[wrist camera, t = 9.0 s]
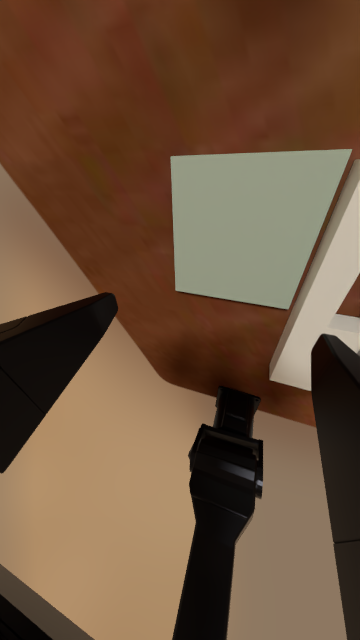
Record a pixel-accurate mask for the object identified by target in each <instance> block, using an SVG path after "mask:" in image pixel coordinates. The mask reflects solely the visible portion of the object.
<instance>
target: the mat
mask: <svg viewBox="0 0 360 640" xmlns="http://www.w3.org/2000/svg"><path fill="white" fill-rule="evenodd" d="M351 151H352V149H342V150H317V151H292V152H267V153H242V154H217V155H192V156H171V177H172V204H173V231H174V257H175V284H176V291H181V292H187V293H193V294H199V295H205V296H211V297H217V298H223V299H229V300H235V301H241V302H247V303H253V304H259V305H265V306H271V307H277V308H283V309H289V307H290V304H291V302H292V299H293V297H294V294H295V292H296V289H297V287H298V284H299V282H300V279H301V277H302V274H303V272H304V269H305V267H306V264H307V262H308V259H309V257H310V254H311V252H312V249H313V247H314V244H315V242H316V239H317V237H318V234H319V232H320V229H321V227H322V224H323V222H324V219H325V217H326V214H327V212H328V209H329V207H330V204H331V201H332V199H333V196H334V194H335V191H336V189H337V186H338V184H339V181H340V179H341V176H342V174H343V171H344V169H345V166H346V164H347V161H348V159H349V156H350V154H351Z"/></svg>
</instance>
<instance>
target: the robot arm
mask: <svg viewBox="0 0 360 640" xmlns="http://www.w3.org/2000/svg"><path fill="white" fill-rule="evenodd" d="M117 311H118V306H117V302H116V298H115V295H114V294H112V293H108V292H105V293H101V294H98V295H95V296H92V297H89V298H85V299H82V300H79V301H76V302H72V303H69V304H66V305H62V306H59V307H56V308H53V309H49V310H46V311H43V312H40V313H36V314H33V315H30V316H28V317H23V318H20V319H16V320H13V321H10V322H7V323H3V324H0V473H3V472H4V471H5V470H6V469H7V468H8V467H9V465H10V464H11V462H12V461H13V460H14V458H15V457H16V456H17V454H18V452H19V451H20V450H21V448H22V447H23V445H24V444H25V443H26V442H27V440H28V439H29V437H30V436H31V435H32V433H33V432H34V431H35V429H36V428H37V427H38V425H39V424H40V422H41V421H42V420H43V418H44V417H45V415H46V414H47V413H48V411H49V410H50V408H51V407H52V406H53V404H54V403H55V401H56V400H57V399H58V397H59V396H60V395H61V393H62V392H63V390H64V389H65V388H66V386H67V385H68V384H69V382H70V381H71V380H72V378H73V377H74V375H75V374H76V373H77V371H78V370H79V369H80V367H81V366H82V364H83V363H84V362H85V360H86V359H87V358H88V356H89V355H90V353H91V352H92V351H93V349H94V348H95V347H96V345H97V344H98V343H99V341H100V340H101V338H102V337H103V335H104V334H105V332H106V331H107V329H108V327H109V325H110V324H111V322H112V320H113V318H114V317H115V315H116V313H117ZM311 392H312V400H313V407H314V414H315V420H316V427H317V434H318V441H319V448H320V455H321V461H322V468H323V475H324V482H325V488H326V495H327V503H328V509H329V516H330V523H331V530H332V537H333V542H334V551H335V559H336V565H337V572H338V579H339V586H340V593H341V600H342V607H343V614H344V620H345V627H346V634H347V640H360V356H359V355H358V354H357V353H355V352H354V351H353V350H352V349H351V348H350V347H348V346H347V345H346V344H345V343H344V342H343V341H341V340H340V339H339V338H338V337H337V336H335V335H330V334H325V333H323V334H321V335H320V336H319V338H318V339H317V341H316V343H315V345H314V346H313V348H312V351H311ZM260 401H261V399H260V397H257V396H254V395H251V394H247V393H244V392H240V391H237V390H233V389H230V388H227V387H223V386H219V389H218V394H217V400H216V405H215V406H216V407H217V411H216V415H215V420H214V425H213V427H211V426H208V425H206V424H202V425H201V428H199V431H198V434H197V436H196V439H195V442H194V444H193V446H192V448H191V450H190V451H189V455H188V457H189V459H190V472H192V473H191V478H190V482H189V486H190V493H191V497H192V502H193V508H194V514H195V519H196V525H195V530H194V535H193V541H192V545H191V550H190V556H189V560H188V565H187V570H186V575H185V580H184V584H183V590H182V594H181V599H180V604H179V609H178V614H177V619H176V624H175V629H174V633H173V638H172V640H227V631H228V621H229V610H230V599H231V588H232V577H233V566H234V556H235V545H236V543H237V541H238V540H239V538H240V537H241V535H242V534H243V532H244V531H245V529H246V528H247V526H248V525H249V523H250V521H251V520H252V517H253V513H254V509H255V497H257V498H259V499H261V497H262V485H263V440H257V439H253V438H252V434H253V419H254V414H255V412H256V410H257V408H258V406H259V403H260ZM0 640H94V639H93V638H92V637H90V636H89V635H88V634H87V633H86V632H84V631H83V630H82V629H80V628H79V627H78V626H77V625H75V624H74V623H73V622H72V621H71V620H69V619H68V618H67V617H66V616H64V615H63V614H62V613H61V612H59V611H58V610H57V609H56V608H54V607H53V606H52V605H51V604H49V603H48V602H47V601H46V600H44V599H43V598H42V597H41V596H39V595H38V594H37V593H36V592H34V591H33V590H32V589H31V588H29V587H28V586H27V585H26V584H24V583H23V582H22V581H21V580H19V579H18V578H17V577H16V576H15V575H13V574H12V573H11V572H9V571H8V570H7V569H6V568H5V567H3V566H2V565H1V564H0Z"/></svg>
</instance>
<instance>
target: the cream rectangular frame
mask: <svg viewBox="0 0 360 640" xmlns="http://www.w3.org/2000/svg"><path fill="white" fill-rule="evenodd" d="M359 273H360V159H356V160H354V162H353V165H352V167H351V170H350V172H349V174H348V177H347V179H346V182H345V184H344V186H343V189H342V191H341V194H340V196H339V199H338V201H337V203H336V206H335V208H334V211H333V213H332V215H331V218H330V220H329V223H328V225H327V227H326V230H325V232H324V235H323V237H322V239H321V242H320V244H319V247H318V249H317V251H316V254H315V256H314V259H313V261H312V263H311V266H310V268H309V271H308V273H307V275H306V278H305V280H304V283H303V285H302V287H301V290H300V292H299V295H298V297H297V300H296V302H295V304H294V307H293V309H292V312H291V314H290V316H289V319H288V321H287V324H286V326H285V328H284V331H283V333H282V336H281V338H280V340H279V343H278V345H277V348H276V350H275V352H274V355H273V357H272V360H271V362H270V378H269V380H272V381H275V382H279V383H283V384H287V385H290V386H294V387H298V388H302V389H305V390H309V391H311V351H312V348H313V346H314V345H315V343H316V341H317V339H318V338H319V336H320V335H321V334H323V333H325V334H330V335H335V336H337V337H338V338H339V339H340V340H341V341H343V342H344V343H345V344H346V345H347V346H348V347H350V348H351V349H352V350H353V351H354V352H355V353H357V354H358V355H359V356H360V318H357V317H351V316H345V315H339V314H335V313H336V312H337V310H338V308H339V307H340V305H341V303H342V302H343V300H344V298H345V297H346V295H347V293H348V291H349V290H350V288H351V286H352V285H353V283H354V281H355V280H356V278H357V276H358V275H359Z"/></svg>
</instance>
